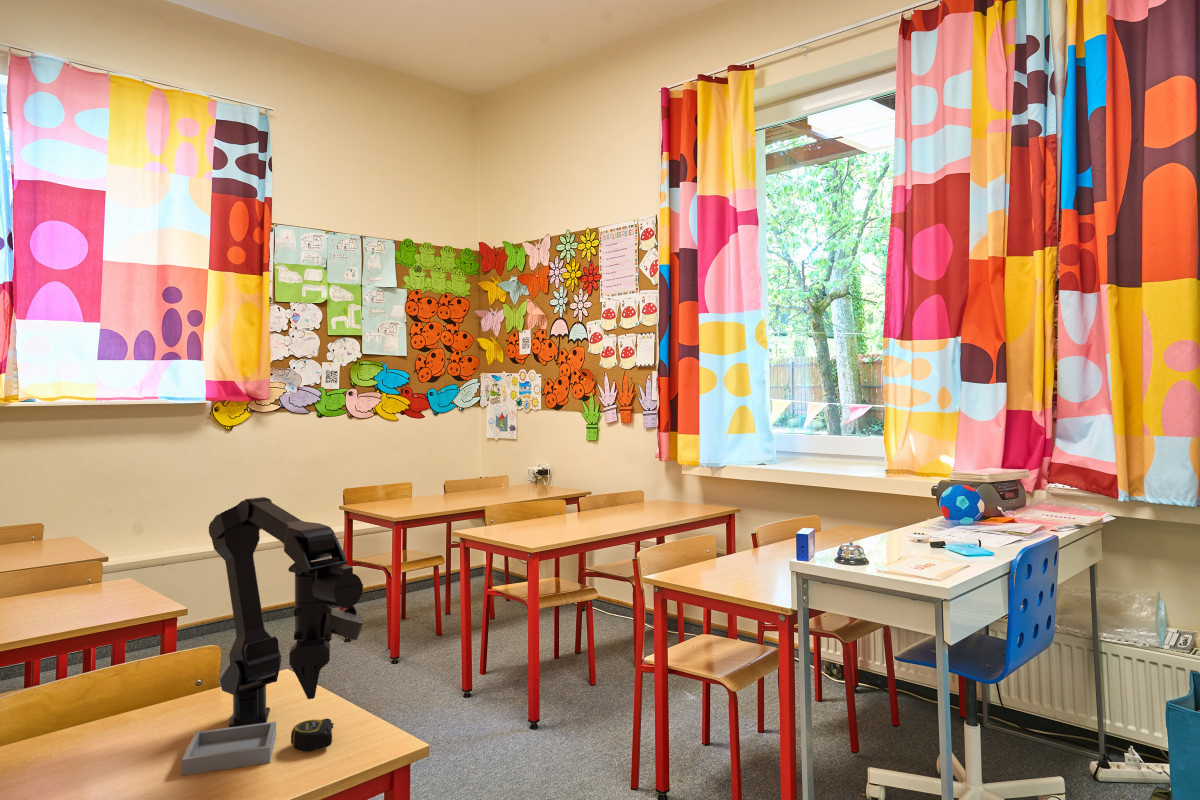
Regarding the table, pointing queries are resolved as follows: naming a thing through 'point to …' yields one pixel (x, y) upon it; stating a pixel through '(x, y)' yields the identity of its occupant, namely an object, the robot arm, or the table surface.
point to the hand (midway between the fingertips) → (312, 688)
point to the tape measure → (312, 735)
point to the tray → (229, 748)
